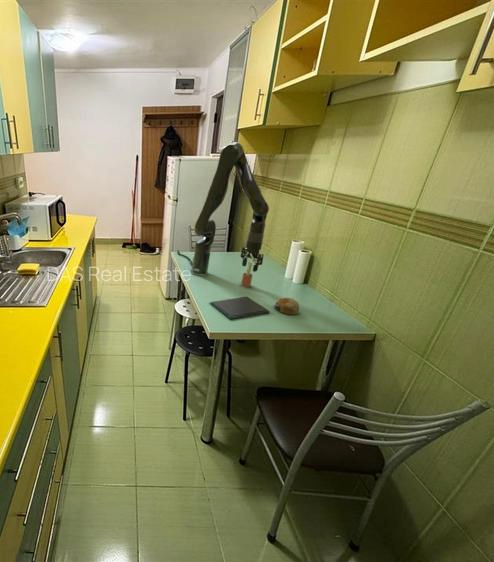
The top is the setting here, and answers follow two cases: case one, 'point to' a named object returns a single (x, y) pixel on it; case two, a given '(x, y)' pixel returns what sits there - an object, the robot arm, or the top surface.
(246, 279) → the pen pot
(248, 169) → the robot arm
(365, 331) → the top surface
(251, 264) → the stylus
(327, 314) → the top surface
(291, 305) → the bread roll
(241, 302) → the plate
